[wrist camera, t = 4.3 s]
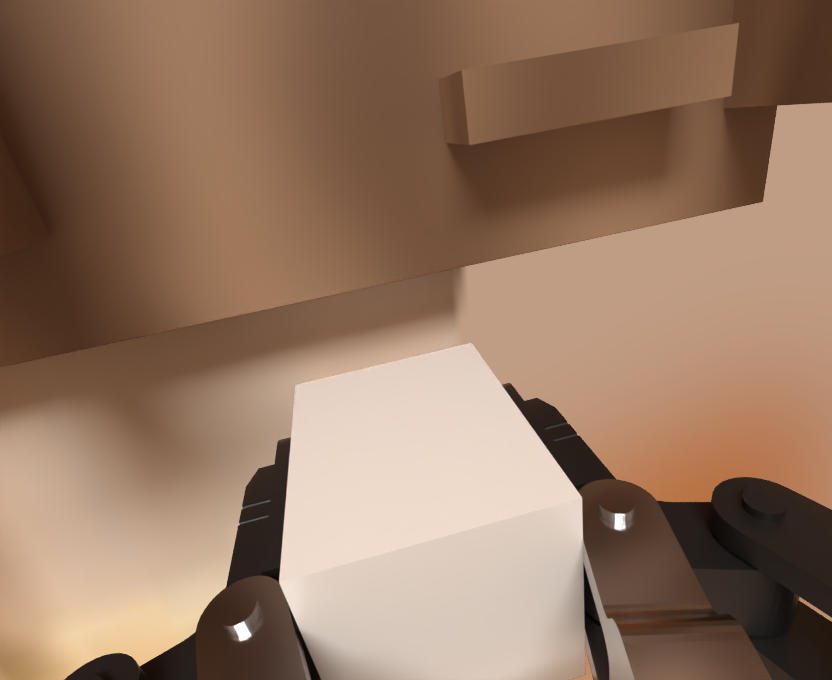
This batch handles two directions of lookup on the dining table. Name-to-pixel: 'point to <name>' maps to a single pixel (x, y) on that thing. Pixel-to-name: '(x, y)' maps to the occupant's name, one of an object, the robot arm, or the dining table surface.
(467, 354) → the block
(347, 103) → the stand
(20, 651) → the dining table surface
